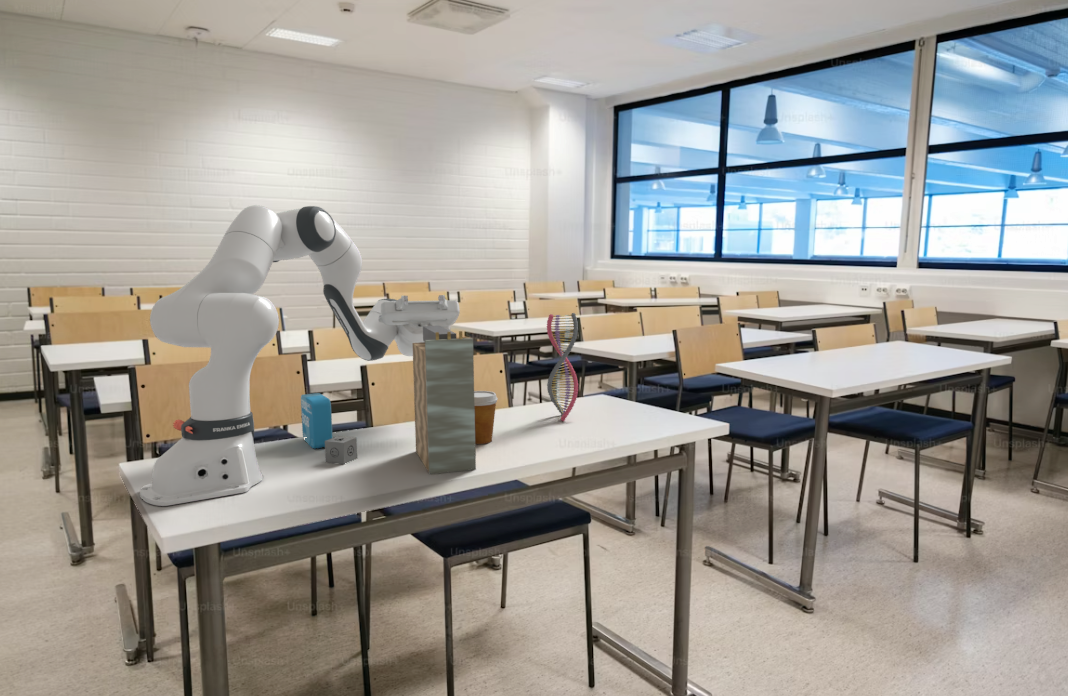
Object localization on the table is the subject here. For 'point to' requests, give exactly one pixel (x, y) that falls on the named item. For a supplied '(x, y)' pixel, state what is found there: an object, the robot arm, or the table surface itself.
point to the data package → (316, 419)
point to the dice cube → (340, 449)
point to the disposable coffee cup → (484, 415)
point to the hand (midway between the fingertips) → (423, 297)
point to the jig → (444, 403)
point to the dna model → (561, 361)
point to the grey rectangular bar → (430, 331)
